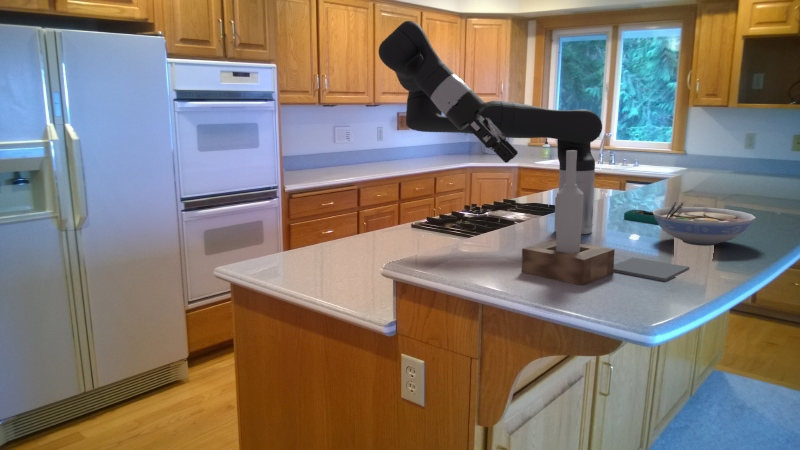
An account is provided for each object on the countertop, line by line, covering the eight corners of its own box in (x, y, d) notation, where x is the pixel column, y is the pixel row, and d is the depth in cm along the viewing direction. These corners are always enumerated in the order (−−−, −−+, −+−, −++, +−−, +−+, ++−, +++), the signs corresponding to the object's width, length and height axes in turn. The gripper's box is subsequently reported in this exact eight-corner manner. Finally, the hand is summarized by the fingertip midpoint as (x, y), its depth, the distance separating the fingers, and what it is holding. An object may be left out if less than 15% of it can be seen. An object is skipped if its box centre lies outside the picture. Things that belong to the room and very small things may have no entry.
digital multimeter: (636, 217, 184) (636, 208, 183) (680, 224, 171) (681, 214, 171) (621, 220, 180) (622, 210, 179) (665, 227, 168) (666, 217, 167)
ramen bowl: (751, 258, 129) (755, 222, 127) (641, 248, 140) (643, 214, 139) (754, 238, 149) (757, 206, 148) (658, 230, 161) (660, 201, 160)
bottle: (581, 276, 117) (586, 151, 112) (554, 275, 118) (559, 151, 113) (579, 269, 122) (583, 149, 117) (553, 268, 123) (557, 150, 118)
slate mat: (606, 270, 121) (606, 267, 121) (632, 260, 129) (633, 257, 129) (664, 281, 112) (665, 278, 112) (689, 269, 120) (689, 266, 120)
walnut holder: (521, 272, 121) (522, 248, 120) (553, 261, 129) (554, 239, 128) (583, 285, 111) (584, 259, 110) (613, 273, 119) (614, 249, 118)
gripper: (452, 115, 128) (503, 167, 127) (437, 115, 114) (494, 174, 113) (476, 89, 125) (529, 143, 124) (464, 86, 112) (523, 146, 111)
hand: (512, 158), depth 119 cm, fingers open, 8 cm apart
